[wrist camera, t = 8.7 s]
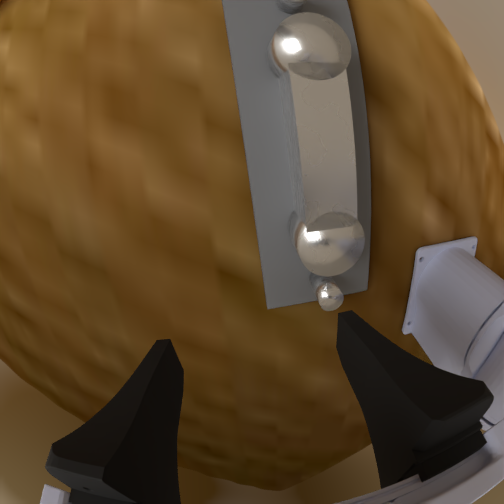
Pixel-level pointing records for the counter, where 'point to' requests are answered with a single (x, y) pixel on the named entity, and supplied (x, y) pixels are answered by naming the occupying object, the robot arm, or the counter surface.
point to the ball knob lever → (318, 140)
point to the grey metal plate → (276, 153)
